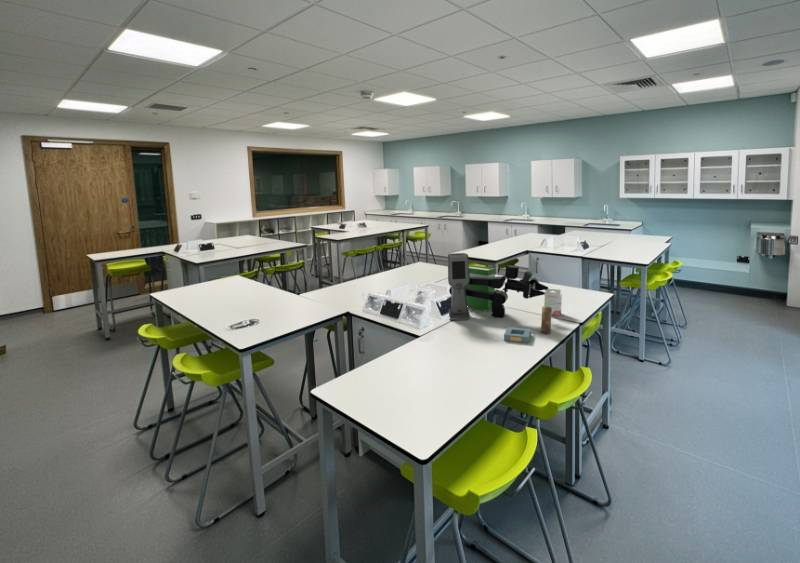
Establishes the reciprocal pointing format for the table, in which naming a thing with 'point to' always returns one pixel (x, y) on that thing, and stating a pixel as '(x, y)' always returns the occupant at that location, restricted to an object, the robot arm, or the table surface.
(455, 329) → the table surface
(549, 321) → the walnut peg
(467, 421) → the table surface
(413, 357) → the table surface
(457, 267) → the thermal camera
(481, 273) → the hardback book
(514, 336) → the socket block
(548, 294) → the ink cartridge box
